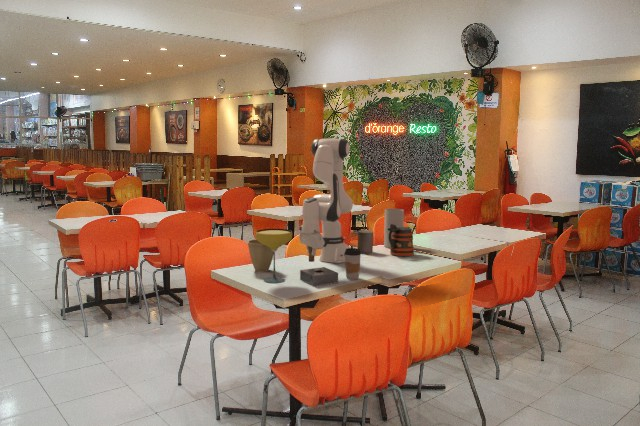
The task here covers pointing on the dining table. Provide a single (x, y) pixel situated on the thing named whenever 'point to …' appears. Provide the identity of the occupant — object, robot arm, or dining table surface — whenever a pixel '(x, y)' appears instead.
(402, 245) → the beer stein
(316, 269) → the nut block
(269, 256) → the plant pot
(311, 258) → the walnut pin
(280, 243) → the cocktail glass
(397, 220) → the cylinder vase
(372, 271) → the dining table surface
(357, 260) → the coffee cup
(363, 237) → the pillar candle
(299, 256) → the dining table surface
